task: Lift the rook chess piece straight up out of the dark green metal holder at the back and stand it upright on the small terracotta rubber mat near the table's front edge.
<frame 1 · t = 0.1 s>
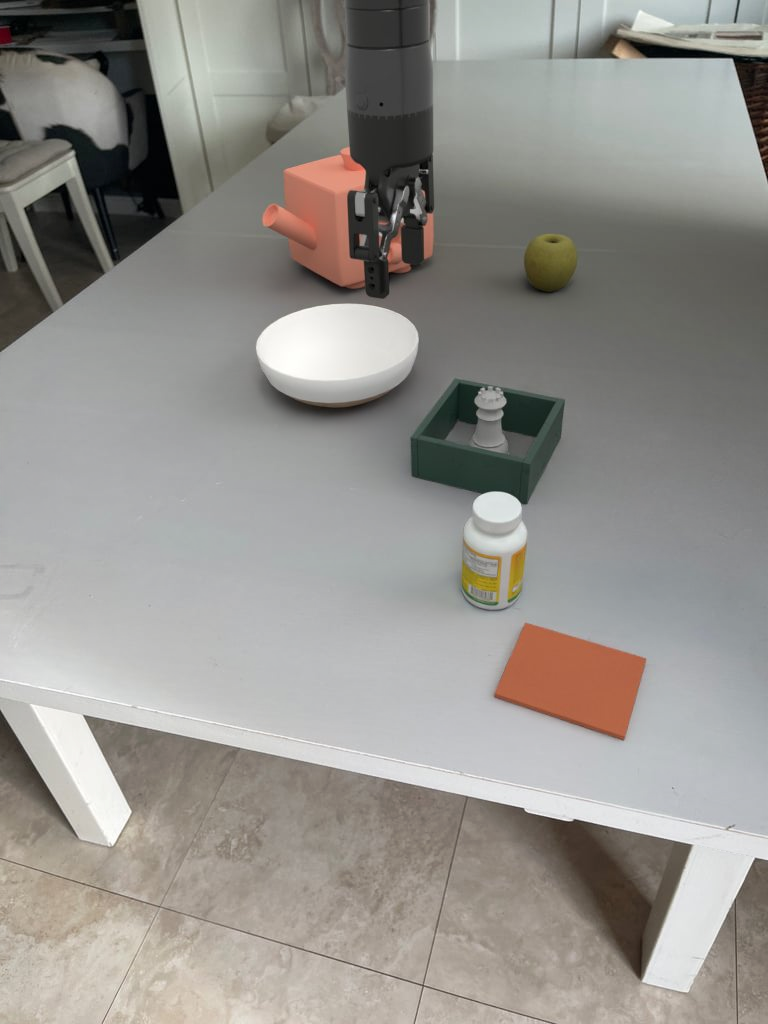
hand: (396, 279, 80), 18 cm above the table, tool pointing down, fingers open, 8 cm apart
teapot: (343, 275, 126), on the table
apple: (547, 287, 120), on the table
holder: (487, 456, 87), on the table
bowl: (341, 385, 100), on the table
mat: (571, 679, 64), on the table
rook chess piece: (487, 458, 87), resting in holder
supplement bottle: (491, 591, 72), on the table
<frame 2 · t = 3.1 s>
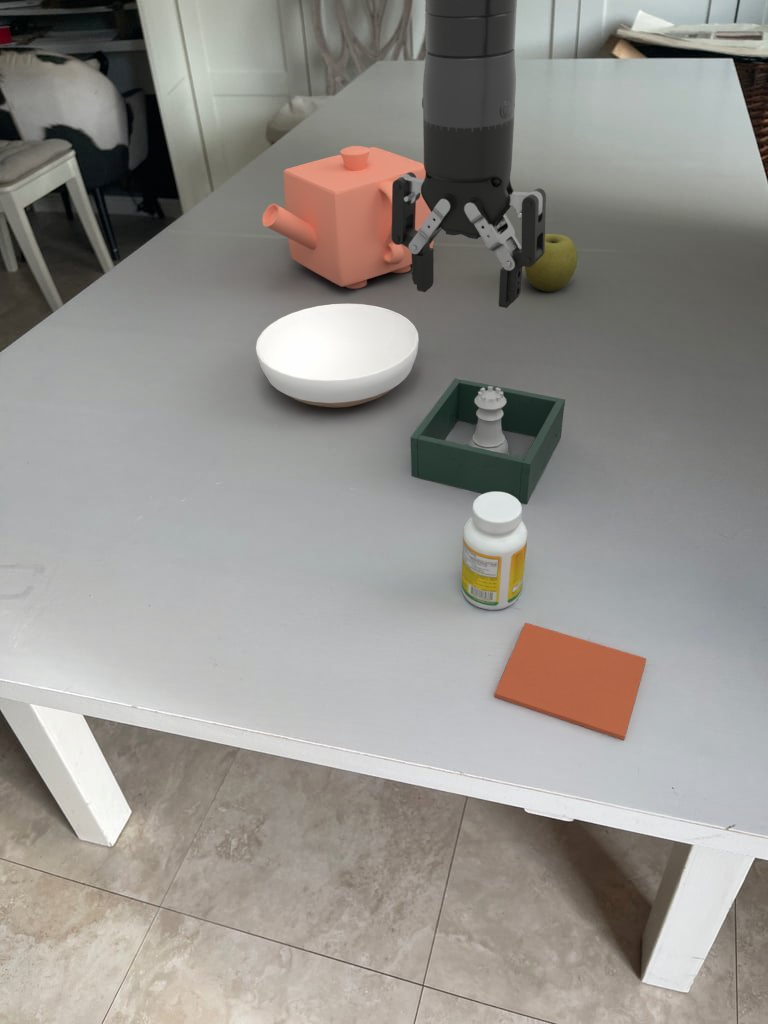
hand: (464, 296, 77), 18 cm above the table, tool pointing down, fingers open, 8 cm apart
nothing on the table moved.
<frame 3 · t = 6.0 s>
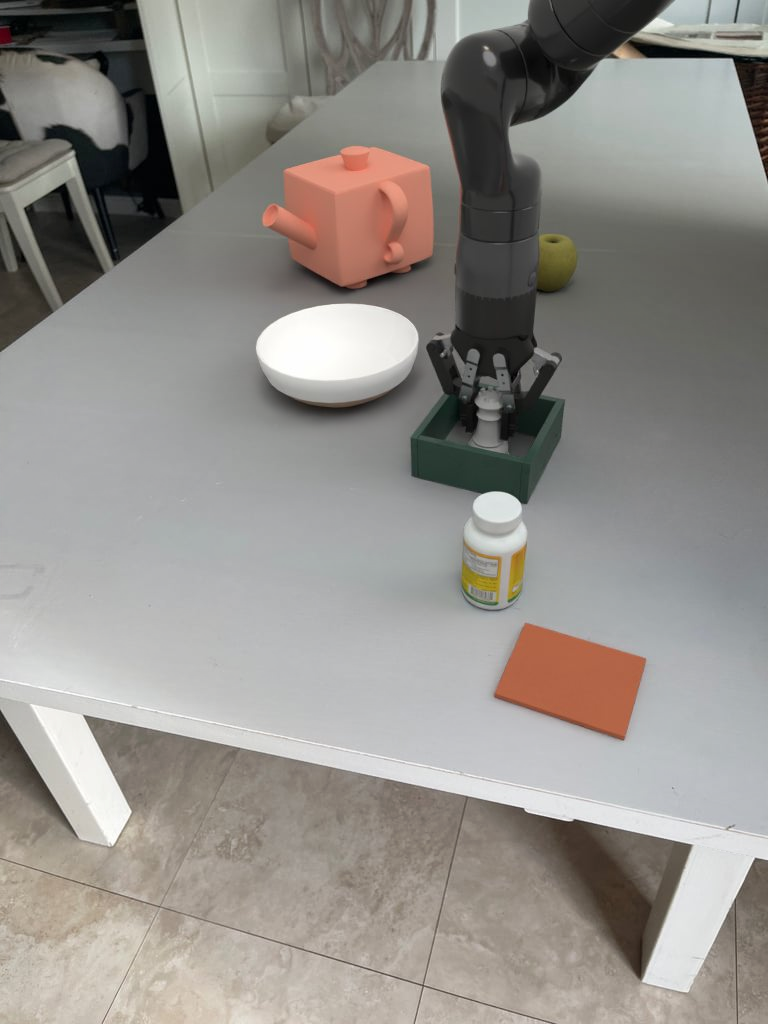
hand: (488, 432, 85), 3 cm above the table, tool pointing down, fingers closed on rook chess piece, 3 cm apart
rook chess piece: (487, 458, 87), resting in holder, touching gripper
everything else where it was.
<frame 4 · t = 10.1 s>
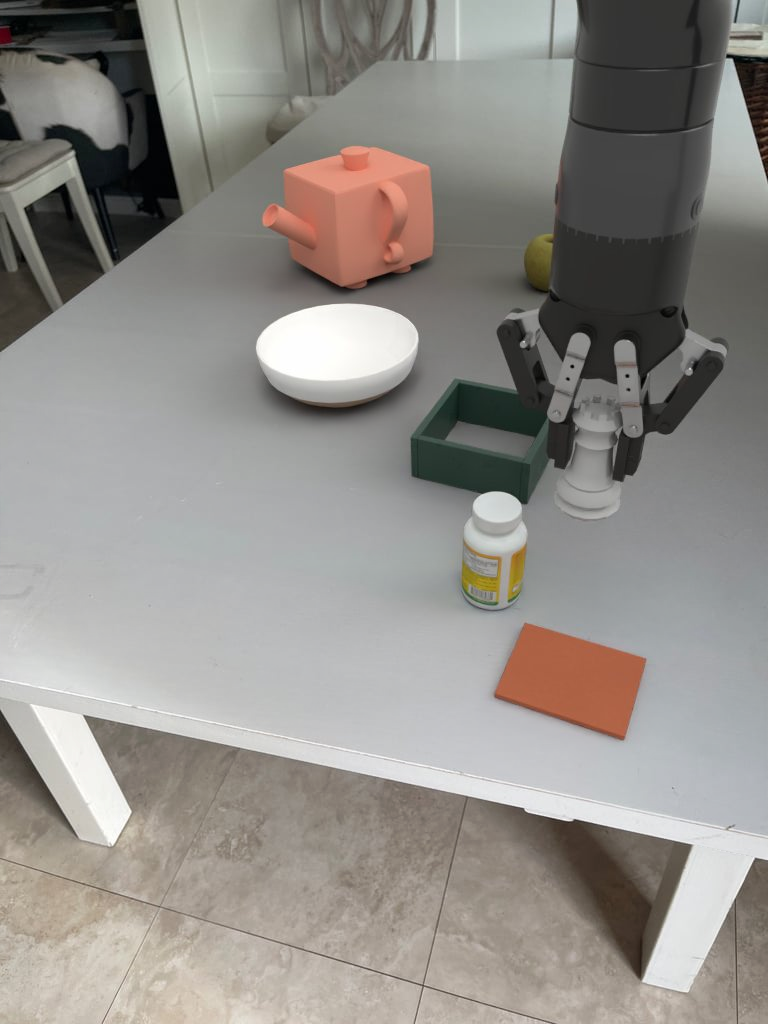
hand: (590, 467, 54), 19 cm above the table, tool pointing down, fingers closed on rook chess piece, 3 cm apart
rook chess piece: (585, 506, 56), point 15 cm above the table, touching gripper
everything else where it was.
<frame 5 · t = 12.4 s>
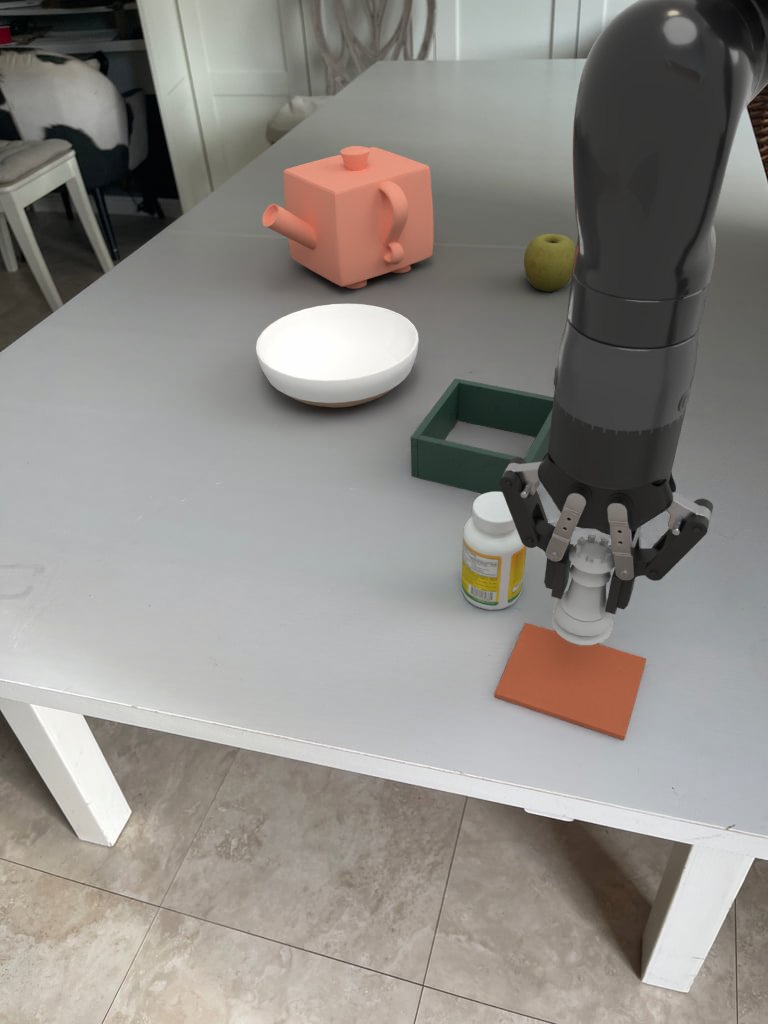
hand: (585, 596, 58), 9 cm above the table, tool pointing down, fingers closed on rook chess piece, 3 cm apart
rook chess piece: (580, 628, 60), point 6 cm above the table, touching gripper
everything else where it was.
when the fingers open (4 cm above the table, at t = 14.1 s): rook chess piece stays where it is, resting on mat.
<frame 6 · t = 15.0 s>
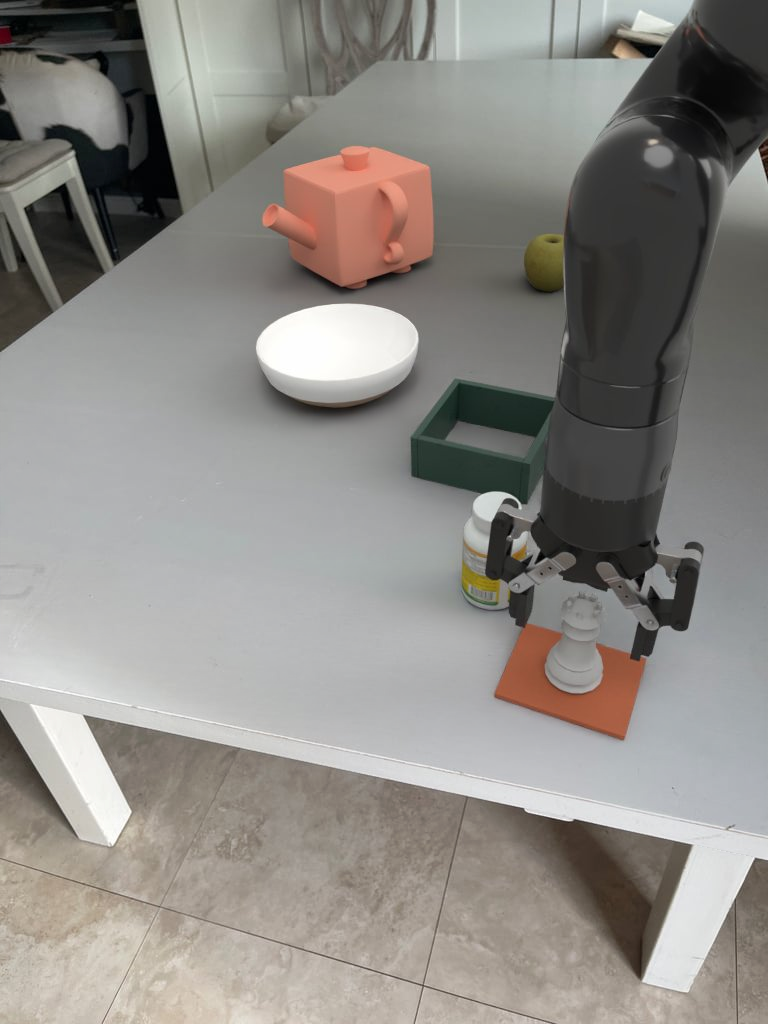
hand: (578, 635, 60), 5 cm above the table, tool pointing down, fingers open, 8 cm apart
rook chess piece: (572, 676, 63), resting on mat
everything else where it was.
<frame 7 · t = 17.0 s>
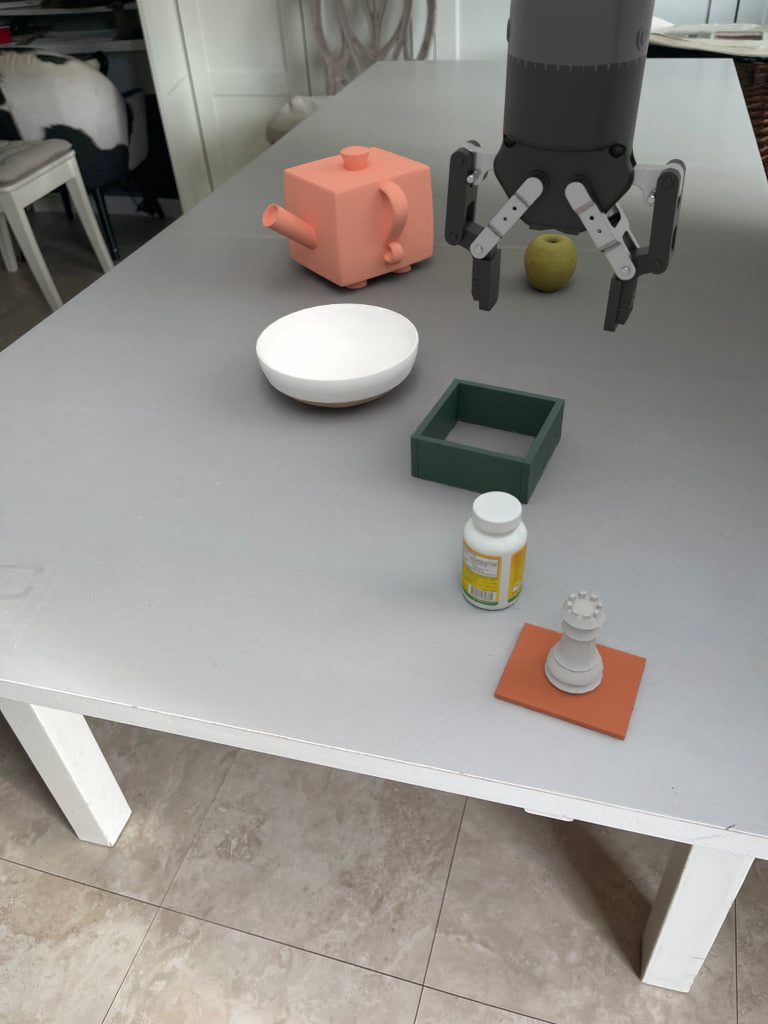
hand: (548, 316, 54), 26 cm above the table, tool pointing down, fingers open, 8 cm apart
nothing on the table moved.
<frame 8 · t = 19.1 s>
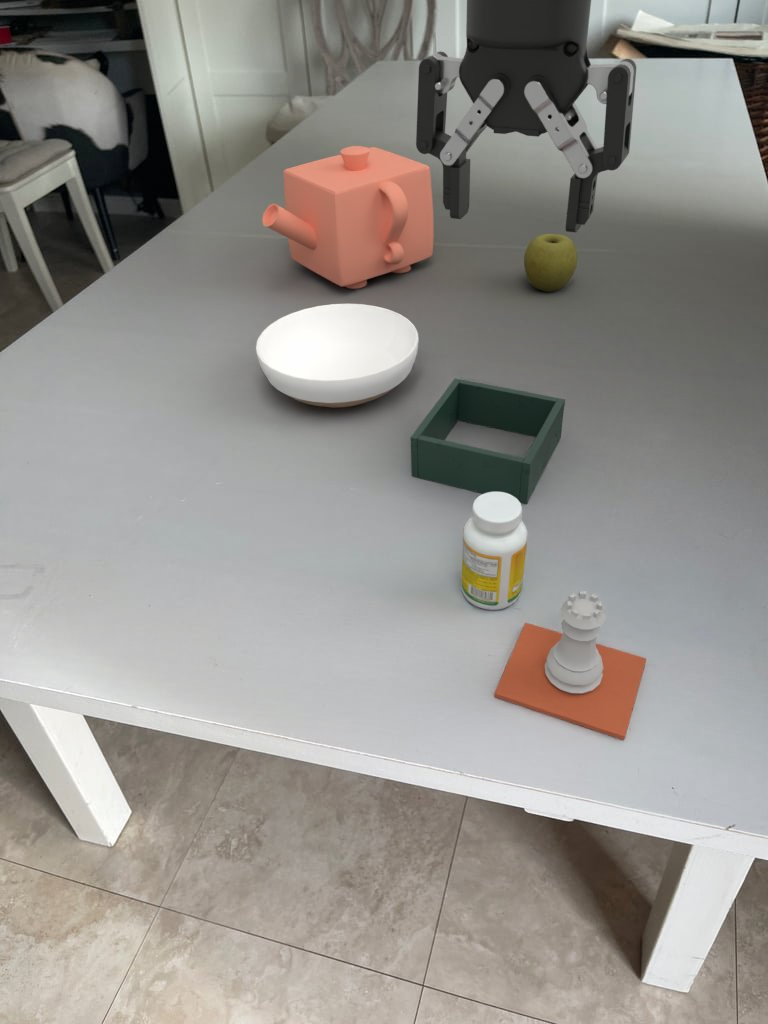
hand: (514, 221, 58), 30 cm above the table, tool pointing down, fingers open, 8 cm apart
nothing on the table moved.
at the end: rook chess piece inside the target area on the mat (0.1 cm from its centre), point 0.3 cm above the mat's base; rook chess piece tilted 0°; the gripper is holding nothing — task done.
